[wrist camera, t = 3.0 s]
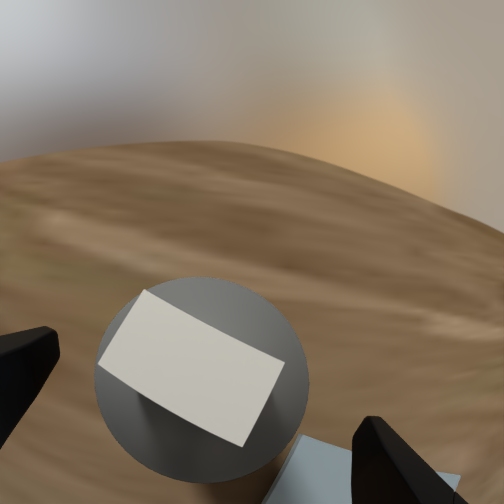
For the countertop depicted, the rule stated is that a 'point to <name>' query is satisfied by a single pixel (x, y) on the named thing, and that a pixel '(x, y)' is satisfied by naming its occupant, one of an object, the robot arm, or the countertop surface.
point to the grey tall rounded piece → (201, 380)
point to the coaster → (319, 475)
